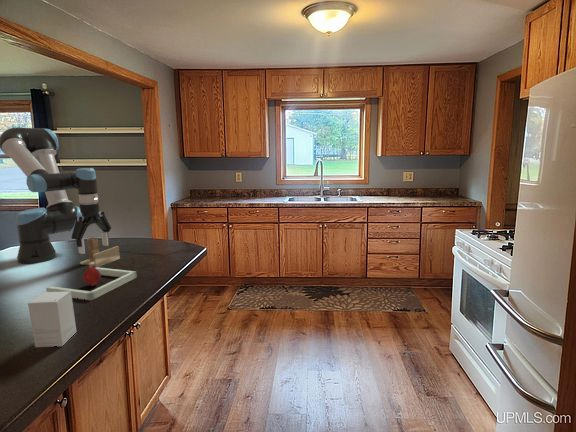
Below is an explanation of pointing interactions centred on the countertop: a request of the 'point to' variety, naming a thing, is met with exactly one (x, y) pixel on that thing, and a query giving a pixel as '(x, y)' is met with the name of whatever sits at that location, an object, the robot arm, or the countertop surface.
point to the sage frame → (90, 295)
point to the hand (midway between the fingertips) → (94, 249)
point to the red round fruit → (91, 276)
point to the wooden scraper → (100, 254)
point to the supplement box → (52, 319)
